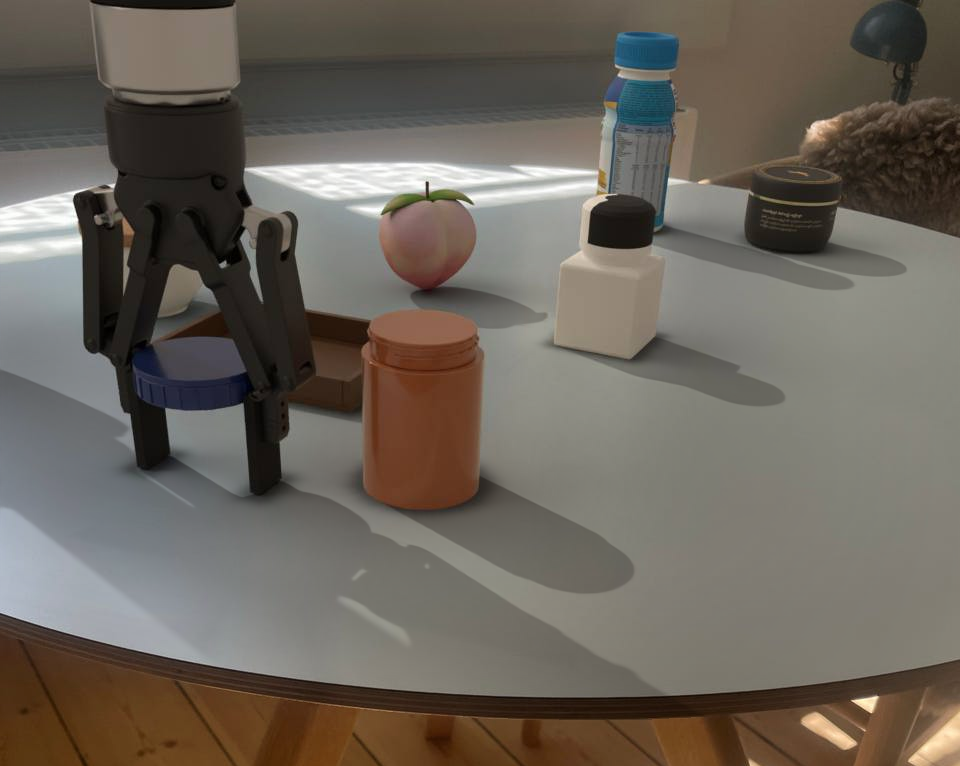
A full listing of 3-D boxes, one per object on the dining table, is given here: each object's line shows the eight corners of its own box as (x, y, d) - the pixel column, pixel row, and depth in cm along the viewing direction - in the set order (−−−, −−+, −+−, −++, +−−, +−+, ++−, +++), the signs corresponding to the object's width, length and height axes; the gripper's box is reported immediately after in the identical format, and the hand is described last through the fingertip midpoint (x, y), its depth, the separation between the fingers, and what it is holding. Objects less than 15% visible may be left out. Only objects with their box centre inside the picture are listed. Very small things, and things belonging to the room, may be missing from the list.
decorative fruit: (439, 272, 117) (441, 167, 111) (487, 293, 111) (492, 184, 106) (359, 285, 112) (357, 176, 106) (406, 308, 107) (407, 195, 101)
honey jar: (343, 496, 74) (339, 334, 68) (392, 452, 80) (392, 299, 74) (452, 520, 72) (458, 355, 66) (495, 472, 78) (503, 318, 72)
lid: (285, 397, 72) (284, 368, 71) (160, 420, 68) (156, 389, 67) (236, 357, 77) (234, 329, 76) (118, 376, 74) (114, 347, 72)
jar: (753, 228, 137) (764, 159, 133) (838, 241, 134) (852, 171, 129) (730, 247, 130) (741, 175, 125) (819, 261, 126) (834, 187, 122)
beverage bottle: (630, 240, 130) (652, 41, 119) (576, 224, 135) (592, 31, 124) (678, 229, 135) (704, 37, 124) (624, 214, 140) (644, 28, 129)
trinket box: (153, 335, 98) (139, 221, 92) (64, 310, 102) (46, 199, 97) (238, 305, 105) (230, 197, 100) (152, 282, 110) (140, 178, 105)
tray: (152, 374, 90) (148, 343, 89) (241, 325, 101) (239, 297, 99) (350, 414, 85) (349, 381, 84) (422, 358, 96) (423, 329, 94)
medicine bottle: (656, 337, 103) (674, 196, 96) (630, 361, 97) (648, 213, 91) (581, 323, 105) (594, 184, 98) (552, 346, 100) (563, 201, 93)
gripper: (373, 101, 63) (376, 480, 76) (60, 66, 69) (112, 424, 82) (306, 121, 57) (322, 529, 70) (-29, 82, 63) (41, 464, 76)
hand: (209, 472), depth 76 cm, fingers closed on lid, 8 cm apart
